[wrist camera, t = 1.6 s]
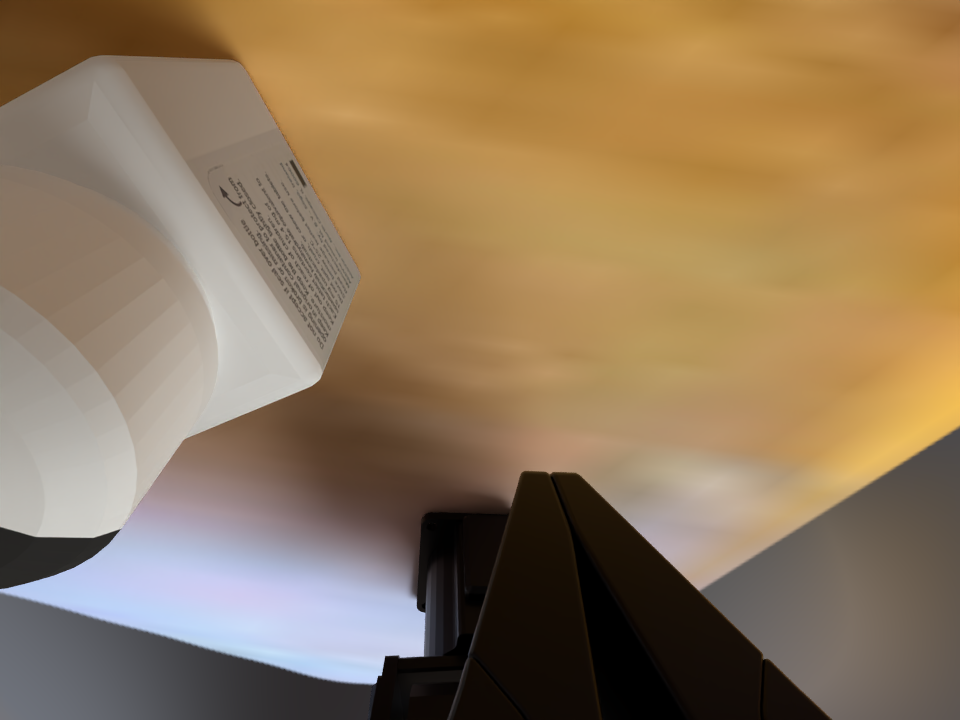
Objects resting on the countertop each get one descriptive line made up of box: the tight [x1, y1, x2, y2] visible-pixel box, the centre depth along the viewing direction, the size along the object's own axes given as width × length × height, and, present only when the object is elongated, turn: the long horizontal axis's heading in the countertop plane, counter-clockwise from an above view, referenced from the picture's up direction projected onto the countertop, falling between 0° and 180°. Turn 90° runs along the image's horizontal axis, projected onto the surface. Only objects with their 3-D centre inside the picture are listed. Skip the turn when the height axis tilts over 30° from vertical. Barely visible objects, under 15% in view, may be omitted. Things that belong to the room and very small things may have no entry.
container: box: [0, 55, 361, 589], centre depth 13 cm, size 8×8×13 cm
